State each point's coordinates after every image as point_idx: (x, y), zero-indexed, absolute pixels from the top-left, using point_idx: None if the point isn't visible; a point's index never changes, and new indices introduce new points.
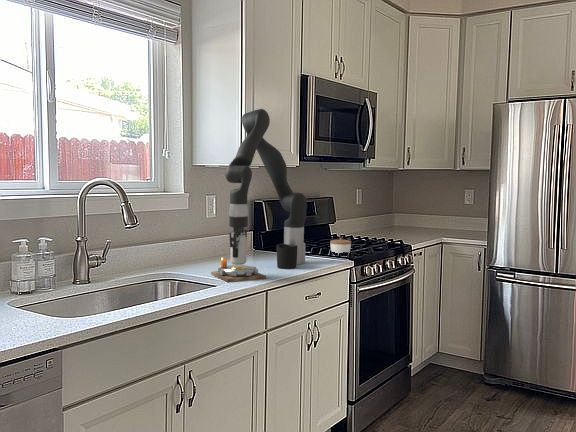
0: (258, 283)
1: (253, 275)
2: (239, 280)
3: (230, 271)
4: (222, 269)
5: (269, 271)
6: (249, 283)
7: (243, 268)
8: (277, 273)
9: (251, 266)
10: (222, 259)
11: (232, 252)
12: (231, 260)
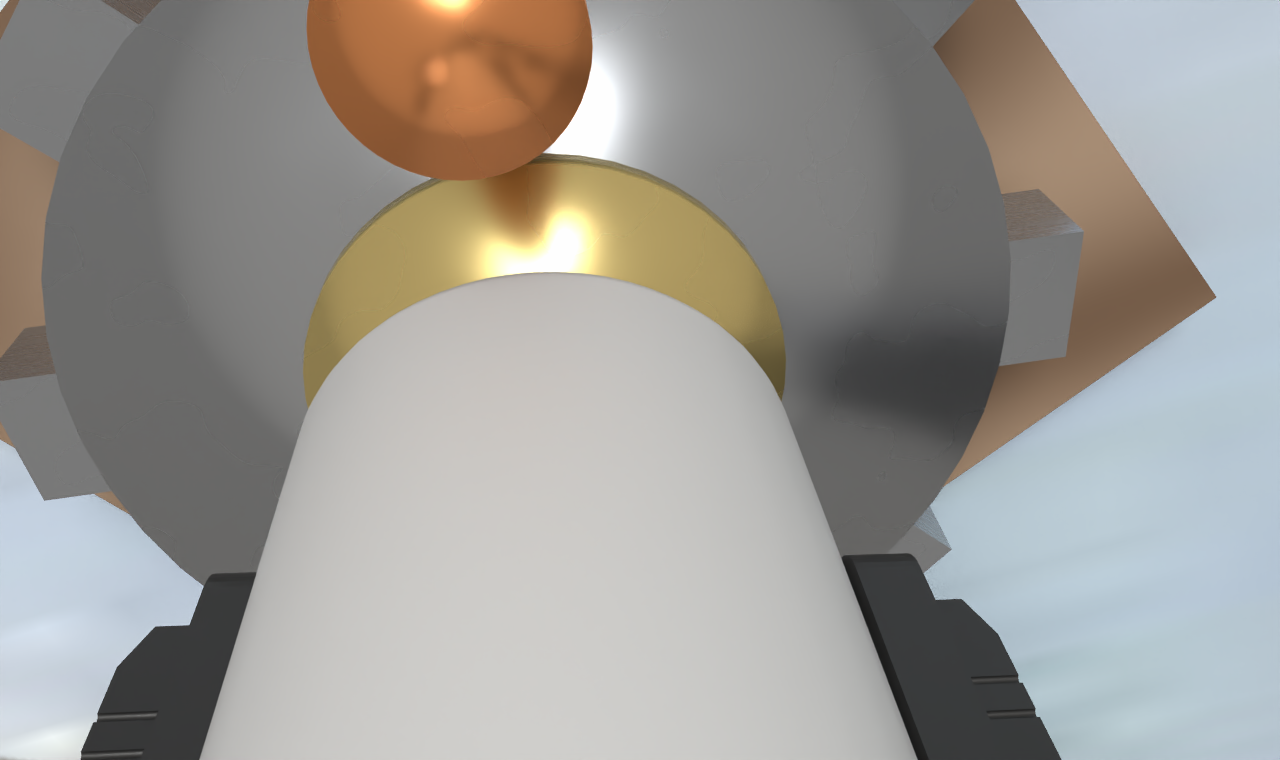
0: None
1: None
2: None
3: (52, 345)
4: (130, 45)
5: (1202, 583)
6: (40, 642)
7: None
8: None
9: (867, 553)
10: (315, 18)
11: (225, 677)
12: (326, 400)
